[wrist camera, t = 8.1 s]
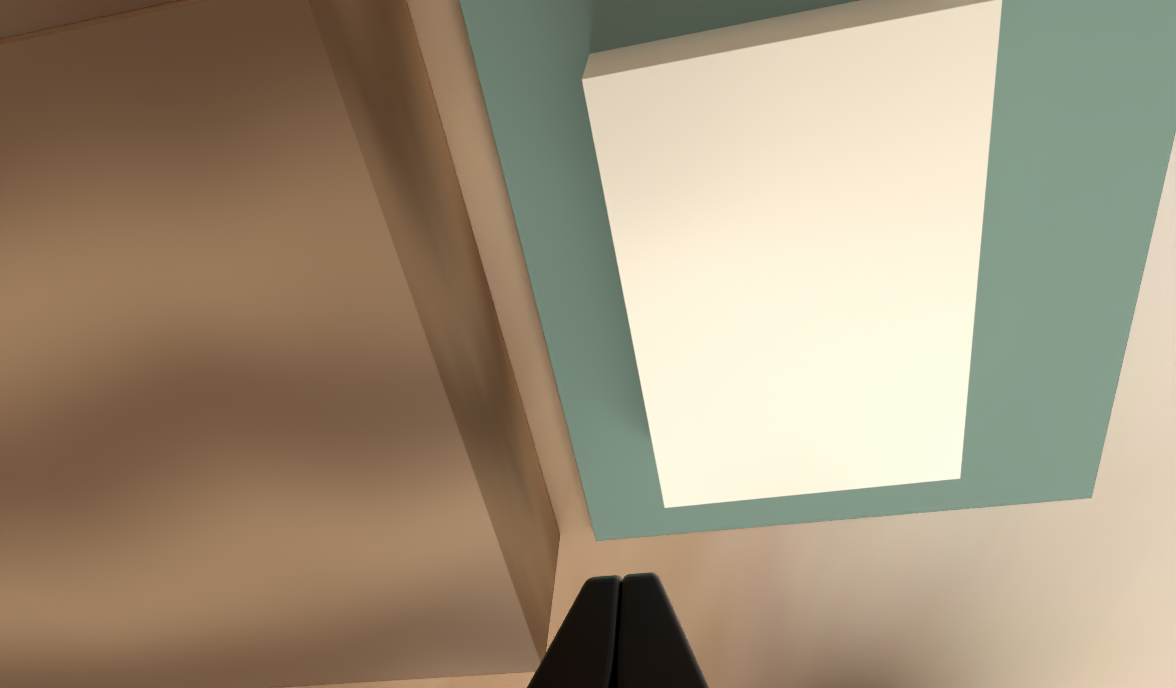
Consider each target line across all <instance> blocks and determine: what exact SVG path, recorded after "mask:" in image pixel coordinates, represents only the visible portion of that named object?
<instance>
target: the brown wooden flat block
mask: <svg viewBox="0 0 1176 688" xmlns="http://www.w3.org/2000/svg"><path fill="white" fill-rule="evenodd" d="M559 540H560V534H559V530H558V527H557V523H556V520H555V516H554V513H553V509H552V506H551V502H550V499H549V495H548V492H547V488H546V485H545V482H544V478H543V475H542V471H541V468H540V464H539V461H538V457H537V454H536V450H535V447H534V443H533V440H532V436H531V433H530V429H529V426H528V422H527V419H526V415H525V412H524V409H523V405H522V402H521V398H520V395H519V391H518V388H517V384H516V381H515V377H514V374H513V370H512V367H511V363H510V360H509V356H508V353H507V349H506V346H505V342H504V339H503V336H502V332H501V329H500V325H499V322H498V318H497V315H496V311H495V308H494V304H493V301H492V297H491V294H490V290H489V287H488V283H487V280H486V276H485V273H484V269H483V266H482V263H481V259H480V256H479V252H478V249H477V245H476V242H475V238H474V235H473V231H472V228H471V224H470V221H469V217H468V214H467V210H466V207H465V203H464V200H463V196H462V193H461V190H460V186H459V183H458V179H457V176H456V172H455V169H454V165H453V162H452V158H451V155H450V151H449V148H448V144H447V141H446V137H445V134H444V130H443V127H442V123H441V120H440V117H439V113H438V110H437V106H436V103H435V99H434V96H433V92H432V89H431V85H430V82H429V78H428V75H427V71H426V68H425V64H424V61H423V57H422V54H421V50H420V47H419V44H418V40H417V37H416V33H415V30H414V26H413V23H412V19H411V16H410V12H409V9H408V5H407V2H406V0H180V1H175V2H171V3H166V4H161V5H157V6H152V7H147V8H143V9H138V10H133V11H129V12H124V13H119V14H115V15H110V16H105V17H101V18H96V19H92V20H87V21H82V22H78V23H73V24H68V25H64V26H59V27H54V28H50V29H45V30H40V31H36V32H31V33H26V34H22V35H17V36H12V37H8V38H3V39H0V688H276V687H292V686H309V685H325V684H342V683H358V682H374V681H391V680H407V679H424V678H440V677H456V676H473V675H489V674H505V673H522V672H536V670H537V669H538V667H539V665H540V663H541V661H542V659H543V658H544V656H545V654H546V647H547V639H548V631H549V622H550V614H551V606H552V598H553V590H554V581H555V573H556V565H557V557H558V549H559Z"/></svg>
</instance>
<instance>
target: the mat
mask: <svg viewBox="0 0 1176 688" xmlns="http://www.w3.org/2000/svg"><path fill="white" fill-rule="evenodd" d="M459 1H460V5H461V9H462V13H463V17H464V21H465V25H466V29H467V33H468V36H469V40H470V44H471V48H472V52H473V56H474V60H475V64H476V68H477V72H478V76H479V80H480V84H481V88H482V92H483V96H484V100H485V104H486V108H487V111H488V115H489V119H490V123H491V127H492V131H493V135H494V139H495V143H496V147H497V151H498V155H499V159H500V163H501V167H502V171H503V175H504V179H505V183H506V187H507V190H508V194H509V198H510V202H511V206H512V210H513V214H514V218H515V222H516V226H517V230H518V234H519V238H520V242H521V246H522V250H523V254H524V258H525V262H526V266H527V269H528V273H529V277H530V281H531V285H532V289H533V293H534V297H535V301H536V305H537V309H538V313H539V317H540V321H541V325H542V329H543V333H544V337H545V341H546V344H547V348H548V352H549V356H550V360H551V364H552V368H553V372H554V376H555V380H556V384H557V388H558V392H559V396H560V400H561V404H562V408H563V412H564V416H565V420H566V423H567V427H568V431H569V435H570V439H571V443H572V447H573V451H574V455H575V459H576V463H577V467H578V471H579V475H580V479H581V483H582V487H583V491H584V495H585V499H586V502H587V506H588V510H589V514H590V518H591V522H592V526H593V530H594V534H595V538H596V541H601V540H613V539H624V538H636V537H647V536H659V535H670V534H682V533H693V532H705V531H716V530H728V529H739V528H751V527H762V526H774V525H786V524H797V523H809V522H820V521H832V520H843V519H855V518H866V517H878V516H889V515H901V514H912V513H924V512H935V511H947V510H958V509H970V508H981V507H993V506H1004V505H1016V504H1027V503H1039V502H1050V501H1062V500H1073V499H1085V498H1092V493H1093V489H1094V485H1095V480H1096V476H1097V472H1098V467H1099V463H1100V459H1101V454H1102V450H1103V446H1104V441H1105V437H1106V433H1107V428H1108V424H1109V419H1110V415H1111V411H1112V406H1113V402H1114V398H1115V393H1116V389H1117V385H1118V380H1119V376H1120V372H1121V367H1122V363H1123V358H1124V354H1125V350H1126V345H1127V341H1128V337H1129V332H1130V328H1131V324H1132V319H1133V315H1134V311H1135V306H1136V302H1137V297H1138V293H1139V289H1140V284H1141V280H1142V276H1143V271H1144V267H1145V263H1146V258H1147V254H1148V250H1149V245H1150V241H1151V237H1152V232H1153V228H1154V223H1155V219H1156V215H1157V210H1158V206H1159V202H1160V197H1161V193H1162V189H1163V184H1164V180H1165V176H1166V171H1167V167H1168V162H1169V158H1170V154H1171V149H1172V145H1173V141H1174V136H1175V132H1176V0H1002V8H1001V20H1000V31H999V42H998V54H997V65H996V77H995V88H994V99H993V111H992V122H991V133H990V145H989V156H988V167H987V179H986V190H985V202H984V213H983V224H982V236H981V247H980V258H979V270H978V281H977V293H976V304H975V315H974V327H973V338H972V349H971V361H970V372H969V383H968V395H967V406H966V418H965V429H964V440H963V452H962V463H961V474H960V479H950V480H940V481H930V482H920V483H910V484H900V485H890V486H880V487H870V488H860V489H850V490H840V491H830V492H820V493H810V494H800V495H790V496H780V497H770V498H760V499H750V500H740V501H730V502H720V503H710V504H700V505H690V506H680V507H670V508H665V507H664V501H663V496H662V491H661V486H660V481H659V476H658V470H657V465H656V460H655V455H654V450H653V445H652V439H651V434H650V429H649V424H648V419H647V414H646V408H645V403H644V398H643V393H642V388H641V383H640V377H639V372H638V367H637V362H636V357H635V352H634V346H633V341H632V336H631V331H630V326H629V321H628V315H627V310H626V305H625V300H624V295H623V290H622V284H621V279H620V274H619V269H618V264H617V259H616V253H615V248H614V243H613V238H612V233H611V228H610V222H609V217H608V212H607V207H606V202H605V197H604V191H603V186H602V181H601V176H600V171H599V166H598V160H597V155H596V150H595V145H594V140H593V135H592V129H591V124H590V119H589V114H588V109H587V104H586V98H585V93H584V88H583V83H582V77H583V74H584V71H585V67H586V64H587V60H588V57H589V54H591V53H596V52H601V51H606V50H611V49H616V48H621V47H627V46H632V45H637V44H642V43H647V42H652V41H657V40H662V39H667V38H672V37H677V36H682V35H687V34H692V33H697V32H702V31H708V30H713V29H718V28H723V27H728V26H733V25H738V24H743V23H748V22H753V21H758V20H763V19H768V18H773V17H778V16H783V15H789V14H794V13H799V12H804V11H809V10H814V9H819V8H824V7H829V6H834V5H839V4H844V3H849V2H854V1H859V0H459Z"/></svg>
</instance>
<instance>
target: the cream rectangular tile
mask: <svg viewBox="0 0 1176 688" xmlns="http://www.w3.org/2000/svg"><path fill="white" fill-rule="evenodd" d="M1001 8H1002V0H859V1H854V2H849V3H844V4H839V5H834V6H829V7H824V8H819V9H814V10H809V11H804V12H799V13H794V14H789V15H783V16H778V17H773V18H768V19H763V20H758V21H753V22H748V23H743V24H738V25H733V26H728V27H723V28H718V29H713V30H708V31H702V32H697V33H692V34H687V35H682V36H677V37H672V38H667V39H662V40H657V41H652V42H647V43H642V44H637V45H632V46H627V47H621V48H616V49H611V50H606V51H601V52H596V53H591V54H589V57H588V60H587V64H586V67H585V71H584V74H583V77H582V83H583V88H584V93H585V98H586V104H587V109H588V114H589V119H590V124H591V129H592V135H593V140H594V145H595V150H596V155H597V160H598V166H599V171H600V176H601V181H602V186H603V191H604V197H605V202H606V207H607V212H608V217H609V222H610V228H611V233H612V238H613V243H614V248H615V253H616V259H617V264H618V269H619V274H620V279H621V284H622V290H623V295H624V300H625V305H626V310H627V315H628V321H629V326H630V331H631V336H632V341H633V346H634V352H635V357H636V362H637V367H638V372H639V377H640V383H641V388H642V393H643V398H644V403H645V408H646V414H647V419H648V424H649V429H650V434H651V439H652V445H653V450H654V455H655V460H656V465H657V470H658V476H659V481H660V486H661V491H662V496H663V501H664V507H665V508H670V507H680V506H690V505H700V504H710V503H720V502H730V501H740V500H750V499H760V498H770V497H780V496H790V495H800V494H810V493H820V492H830V491H840V490H850V489H860V488H870V487H880V486H890V485H900V484H910V483H920V482H930V481H940V480H950V479H960V474H961V463H962V452H963V440H964V429H965V418H966V406H967V395H968V383H969V372H970V361H971V349H972V338H973V327H974V315H975V304H976V293H977V281H978V270H979V258H980V247H981V236H982V224H983V213H984V202H985V190H986V179H987V167H988V156H989V145H990V133H991V122H992V111H993V99H994V88H995V77H996V65H997V54H998V42H999V31H1000V20H1001Z"/></svg>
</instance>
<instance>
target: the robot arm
mask: <svg viewBox="0 0 1176 688" xmlns="http://www.w3.org/2000/svg"><path fill="white" fill-rule="evenodd" d="M527 688H709V687H708V685H707V682H706V680H705V678H704V676H703V674H702V671H701V669H700V667H699V665H698V662H697V660H696V658H695V656H694V654H693V651H692V649H691V647H690V645H689V642H688V640H687V638H686V636H685V633H684V631H683V629H682V627H681V625H680V622H679V620H678V618H677V616H676V613H675V611H674V609H673V607H672V605H671V602H670V600H669V598H668V596H667V593H666V591H665V589H664V587H663V584H662V582H661V580H660V578H659V576H658V575H657V574H655V573H639V574H628V575H626V576H625V577H624V578H623V579H622V578H621V577H620V576H616V575H614V576H601V577H592V578H589V579H588V580H587V581H586V582H585V584H584V585H583V587H582V589H581V590H580V592H579V594H578V596H577V598H576V600H575V601H574V603H573V605H572V607H571V609H570V610H569V612H568V614H567V616H566V618H565V620H564V621H563V623H562V625H561V627H560V629H559V630H558V632H557V634H556V636H555V638H554V639H553V641H552V643H551V645H550V647H549V649H548V650H547V652H546V654H545V656H544V658H543V659H542V661H541V663H540V665H539V667H538V669H537V670H536V672H535V674H534V676H533V678H532V679H531V681H530V683H529V685H528V687H527Z"/></svg>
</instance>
